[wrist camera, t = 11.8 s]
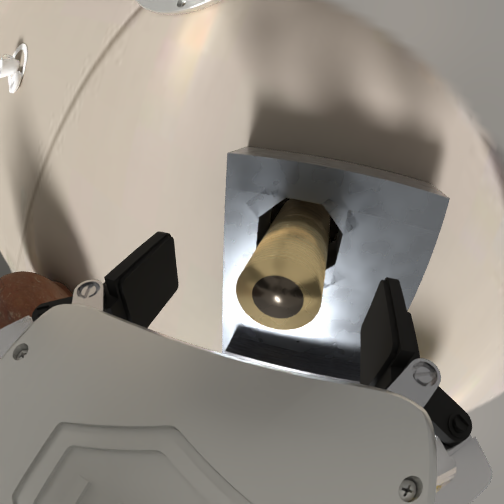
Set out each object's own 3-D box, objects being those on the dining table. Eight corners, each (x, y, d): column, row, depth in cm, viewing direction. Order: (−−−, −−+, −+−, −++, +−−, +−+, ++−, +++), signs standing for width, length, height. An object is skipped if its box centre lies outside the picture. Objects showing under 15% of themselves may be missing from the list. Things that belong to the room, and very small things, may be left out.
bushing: (282, 191, 20) (237, 250, 12) (334, 201, 19) (330, 270, 11) (276, 238, 22) (234, 319, 14) (324, 248, 21) (311, 338, 13)
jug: (130, 359, 40) (34, 487, 15) (69, 340, 48) (-8, 426, 22) (69, 242, 31) (-83, 372, 6) (22, 253, 39) (-77, 335, 14)
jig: (247, 146, 19) (214, 157, 14) (430, 183, 16) (462, 208, 11) (236, 326, 28) (214, 368, 23) (365, 355, 25) (364, 402, 20)
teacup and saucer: (25, 89, 23) (4, 93, 19) (8, 97, 24) (-11, 101, 21) (33, 37, 18) (12, 38, 15) (14, 50, 20) (-5, 52, 16)
